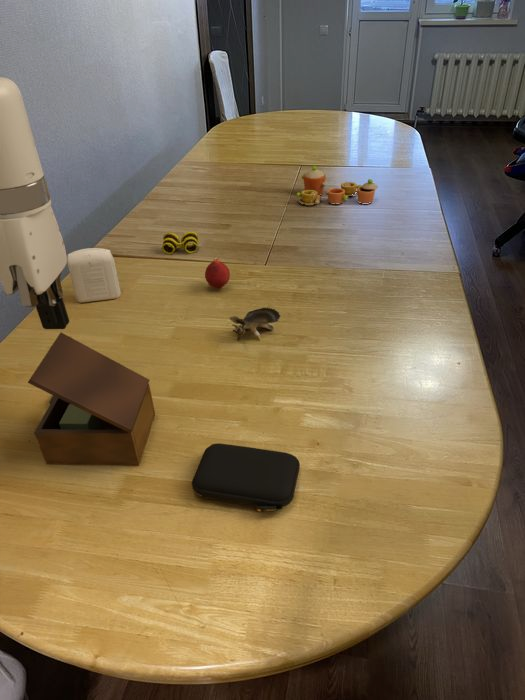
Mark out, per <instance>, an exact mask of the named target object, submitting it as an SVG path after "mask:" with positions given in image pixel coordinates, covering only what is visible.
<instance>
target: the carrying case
mask: <svg viewBox="0 0 525 700" xmlns="http://www.w3.org/2000/svg"><path fill="white" fill-rule="evenodd" d="M198 463H199V464H198V466H197V468H196V470H195V473H194V475H193V477H192V480H191V488H192V490H193V492H194V493H195V494H196V495H198V496H200V497H201V499H205V498H206V499H210V500H217V501H221V502H222V501H223V502H228V503H235V504H240V505H241V504H242V505H246V506H253V507H254V511H255V512H257V513H263V512H264V513H265V512H276V511H277V510H282V509H283V508H285V507H287V506H288V505H290V504H291V503H292V502H293V500H294V496H295V493H296V486H297V483H298V479H299V478H298V477H299V474H300V473H299V472H300V468H301V464H300V461H299V459H298V458H297V457H296V456H295V455H293V454H292V453H289V452H285V451H278V450H270V449H264V448H258V447H250V446H243V445H236V444H227V443H221V442H220V443H219V442H218V443H212V444H210V445H209V446H207V447H206V448H205V449H204V451H203V454H202V456H201V458H200V461H199V462H198Z"/></svg>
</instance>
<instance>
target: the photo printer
mask: <svg viewBox="0 0 525 700" xmlns="http://www.w3.org/2000/svg"><path fill="white" fill-rule="evenodd" d="M66 266H67V268H68V271H69V272H68V273H69V276H70V280H71V283H72V284H71V285H72V287H73V292H74V295H75V299H76V302H78V303H89V302H98V301H106V300H107V301H108V300H114V299H118V298H120V297H121V296H122V292H121V287H120V283H119V278H118V273H117V267H116V262H115V258H114V256H113V254H112V252H111V250H110V249H108V248H103V247H87V248H82V249H78V250H74V251H72V252H70V253H68V254H67V263H66Z"/></svg>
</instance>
